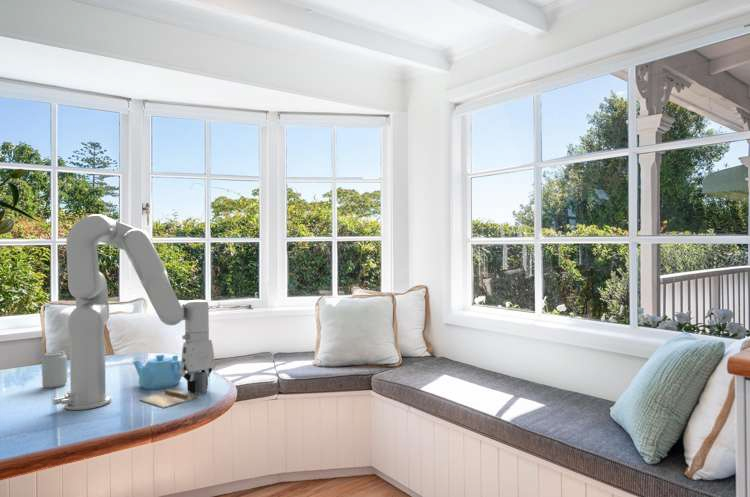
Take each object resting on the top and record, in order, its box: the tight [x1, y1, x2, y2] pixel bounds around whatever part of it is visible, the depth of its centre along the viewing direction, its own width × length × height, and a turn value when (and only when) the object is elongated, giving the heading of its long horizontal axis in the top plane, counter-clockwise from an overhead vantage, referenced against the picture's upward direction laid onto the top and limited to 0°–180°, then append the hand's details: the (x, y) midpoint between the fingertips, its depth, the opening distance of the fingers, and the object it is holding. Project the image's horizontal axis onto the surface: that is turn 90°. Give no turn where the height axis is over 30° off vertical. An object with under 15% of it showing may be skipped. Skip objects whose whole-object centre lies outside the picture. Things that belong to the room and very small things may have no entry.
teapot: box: [133, 354, 187, 390], centre depth 173 cm, size 15×15×11 cm
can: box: [41, 350, 68, 389], centre depth 174 cm, size 8×8×12 cm
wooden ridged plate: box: [139, 388, 199, 409], centre depth 156 cm, size 12×14×2 cm
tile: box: [193, 371, 208, 396], centre depth 164 cm, size 2×8×7 cm, turn 54°
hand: (197, 389), depth 164 cm, fingers open, 4 cm apart
